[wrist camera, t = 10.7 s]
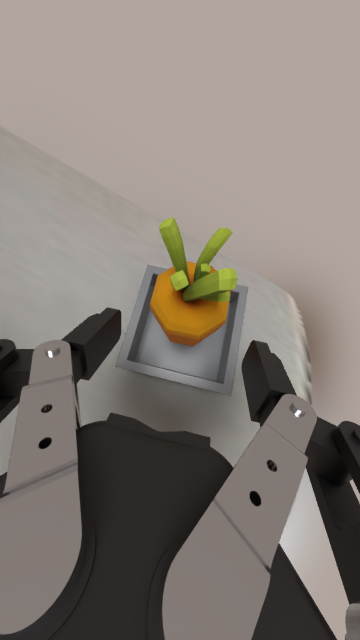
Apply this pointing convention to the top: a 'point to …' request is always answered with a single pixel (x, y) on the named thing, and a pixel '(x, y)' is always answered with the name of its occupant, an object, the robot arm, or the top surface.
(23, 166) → the top surface
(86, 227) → the top surface
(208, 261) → the carrot
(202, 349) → the bin
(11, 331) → the top surface
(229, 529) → the robot arm
